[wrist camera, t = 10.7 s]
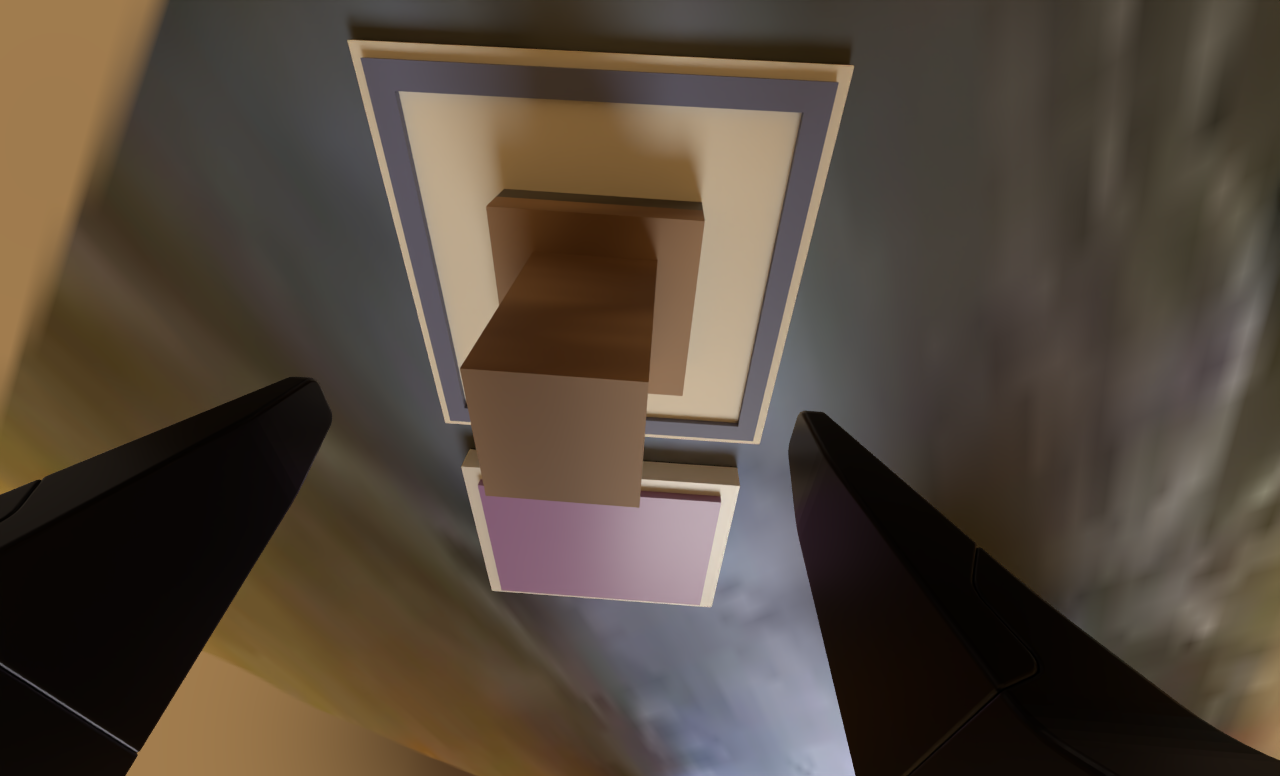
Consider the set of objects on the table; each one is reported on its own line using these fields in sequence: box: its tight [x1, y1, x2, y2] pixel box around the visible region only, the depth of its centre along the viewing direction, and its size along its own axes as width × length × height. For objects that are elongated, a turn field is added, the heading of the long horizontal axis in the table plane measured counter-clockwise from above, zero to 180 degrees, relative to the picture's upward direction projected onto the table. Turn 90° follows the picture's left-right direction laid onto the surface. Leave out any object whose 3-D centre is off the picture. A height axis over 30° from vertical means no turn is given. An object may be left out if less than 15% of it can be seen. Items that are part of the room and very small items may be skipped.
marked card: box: [348, 40, 854, 444], centre depth 14 cm, size 11×11×1 cm
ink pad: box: [461, 449, 740, 607], centre depth 20 cm, size 10×8×1 cm
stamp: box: [460, 189, 705, 508], centre depth 11 cm, size 5×5×6 cm
